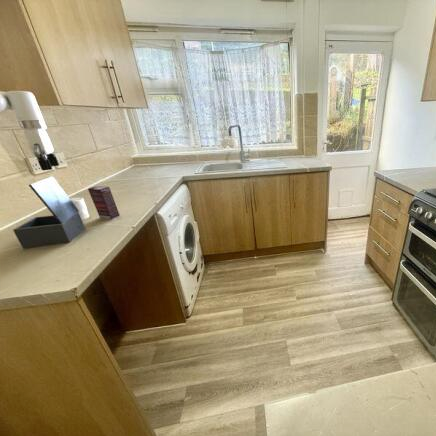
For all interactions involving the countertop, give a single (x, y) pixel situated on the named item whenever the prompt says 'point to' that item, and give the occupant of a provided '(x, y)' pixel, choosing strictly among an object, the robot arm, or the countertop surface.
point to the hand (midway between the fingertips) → (51, 167)
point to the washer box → (48, 231)
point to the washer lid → (54, 199)
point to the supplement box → (104, 202)
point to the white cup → (80, 207)
